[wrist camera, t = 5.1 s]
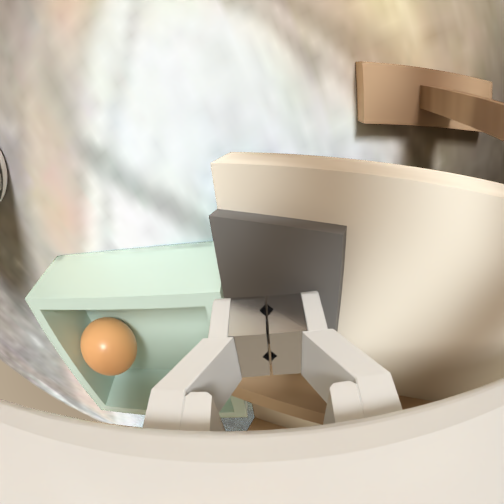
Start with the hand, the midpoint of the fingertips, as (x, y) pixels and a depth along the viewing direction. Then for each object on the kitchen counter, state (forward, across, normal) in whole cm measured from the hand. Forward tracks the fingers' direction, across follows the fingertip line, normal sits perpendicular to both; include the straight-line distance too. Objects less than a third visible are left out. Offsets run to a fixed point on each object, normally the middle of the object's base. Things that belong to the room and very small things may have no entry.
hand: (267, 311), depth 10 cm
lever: (+5, -10, +4) cm, 11 cm away
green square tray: (+8, +8, +8) cm, 14 cm away
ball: (+6, +11, +8) cm, 14 cm away
